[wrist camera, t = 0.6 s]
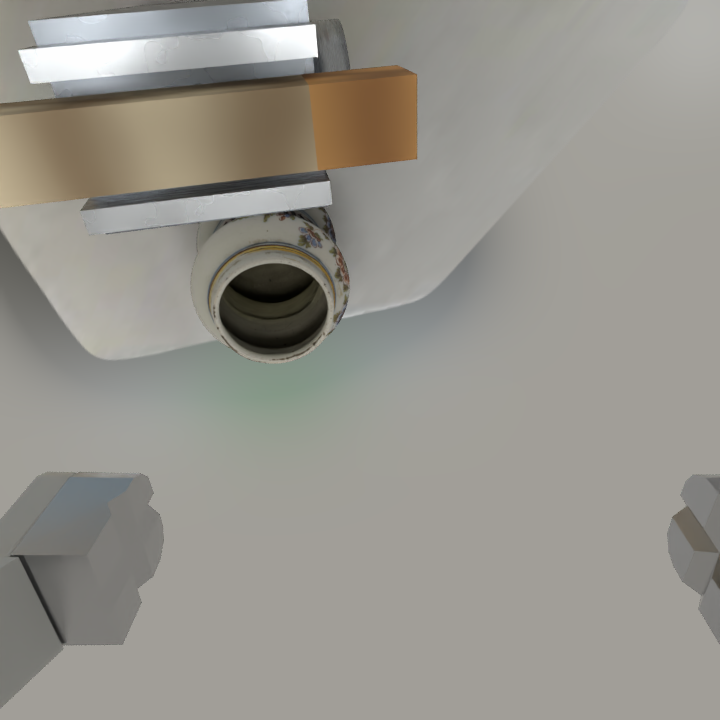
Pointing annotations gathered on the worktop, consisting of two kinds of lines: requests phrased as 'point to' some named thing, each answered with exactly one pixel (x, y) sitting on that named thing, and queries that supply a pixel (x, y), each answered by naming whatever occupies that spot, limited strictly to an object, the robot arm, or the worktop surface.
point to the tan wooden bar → (204, 134)
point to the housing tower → (182, 68)
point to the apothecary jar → (270, 283)
